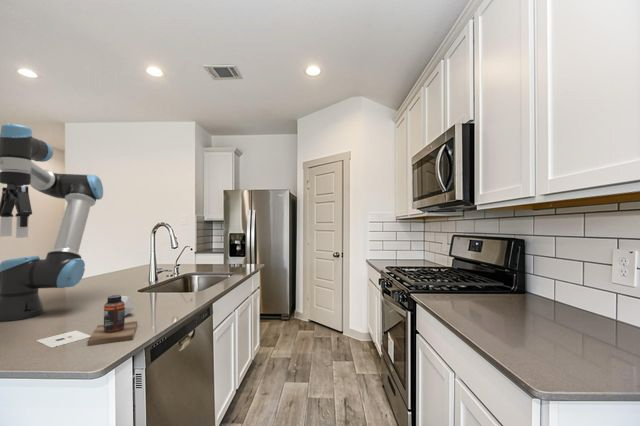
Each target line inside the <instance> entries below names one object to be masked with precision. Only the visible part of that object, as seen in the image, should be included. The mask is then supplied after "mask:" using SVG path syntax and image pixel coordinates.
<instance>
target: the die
mask: <svg viewBox="0 0 640 426" xmlns="http://www.w3.org/2000/svg"><path fill="white" fill-rule="evenodd" d="M121 298H122V299H121V300H122V301H123V302H124V303H125V317H126V316H128V314H129V315H130V312H132V311H133V310H134V305H133V302H132V301H133V300H131V297H130V296H126V295H125V296H124V295H121Z"/></svg>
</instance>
